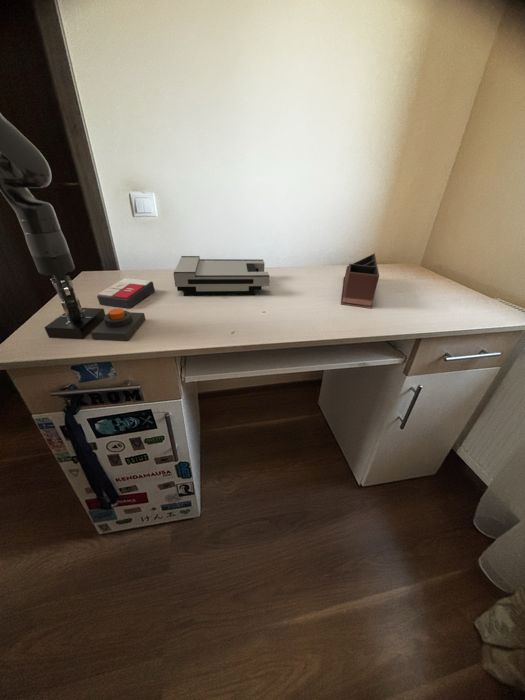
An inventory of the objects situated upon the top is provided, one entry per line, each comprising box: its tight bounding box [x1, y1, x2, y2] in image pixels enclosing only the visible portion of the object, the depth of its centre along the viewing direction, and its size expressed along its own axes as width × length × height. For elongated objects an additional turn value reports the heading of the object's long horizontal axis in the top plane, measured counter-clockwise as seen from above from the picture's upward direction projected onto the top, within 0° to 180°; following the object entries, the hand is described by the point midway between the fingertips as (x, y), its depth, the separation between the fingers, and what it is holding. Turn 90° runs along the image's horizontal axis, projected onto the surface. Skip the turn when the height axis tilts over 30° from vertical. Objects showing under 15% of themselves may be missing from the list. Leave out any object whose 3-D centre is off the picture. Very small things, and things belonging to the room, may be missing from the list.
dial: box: [60, 296, 84, 320], centre depth 74 cm, size 4×4×5 cm
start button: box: [108, 308, 125, 320], centre depth 75 cm, size 4×4×2 cm
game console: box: [173, 255, 271, 297], centre depth 105 cm, size 21×32×8 cm, turn 96°
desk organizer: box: [340, 252, 380, 309], centre depth 104 cm, size 10×29×11 cm, turn 164°
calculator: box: [96, 277, 156, 309], centre depth 94 cm, size 11×4×15 cm
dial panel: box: [44, 307, 106, 340], centre depth 76 cm, size 12×9×3 cm
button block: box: [90, 310, 146, 342], centre depth 76 cm, size 12×9×4 cm
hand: (74, 316), depth 75 cm, fingers closed on dial, 4 cm apart
